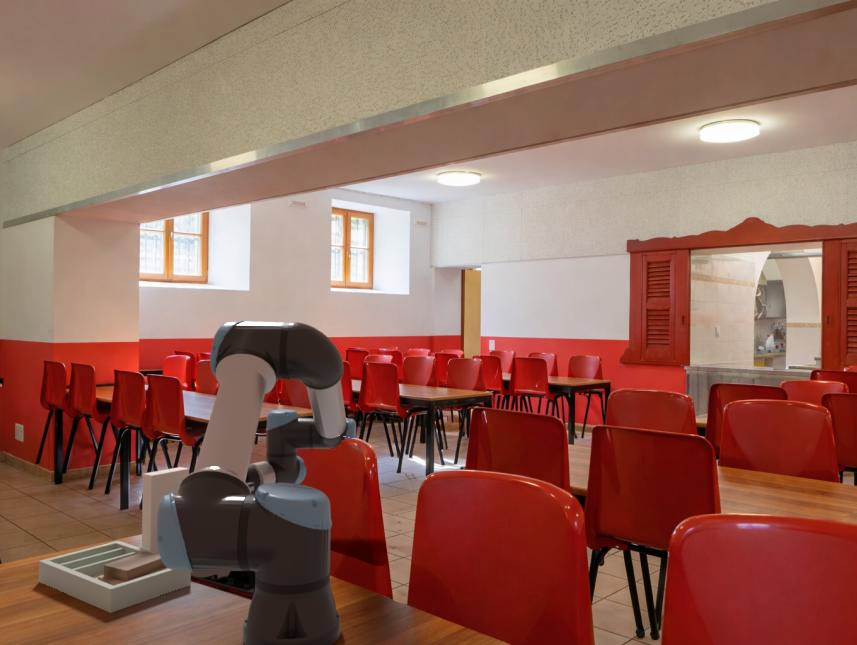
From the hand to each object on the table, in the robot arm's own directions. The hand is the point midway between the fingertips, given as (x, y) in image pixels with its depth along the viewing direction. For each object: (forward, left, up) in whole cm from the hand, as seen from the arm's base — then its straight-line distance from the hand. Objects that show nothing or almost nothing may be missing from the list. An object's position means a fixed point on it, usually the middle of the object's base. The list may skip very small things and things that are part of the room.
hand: (174, 497), depth 152 cm
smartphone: (-21, +1, -13) cm, 24 cm away
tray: (-6, +17, -12) cm, 22 cm away
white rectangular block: (0, +2, -12) cm, 12 cm away
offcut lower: (-13, +17, -10) cm, 24 cm away
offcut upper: (-13, +17, -8) cm, 23 cm away
